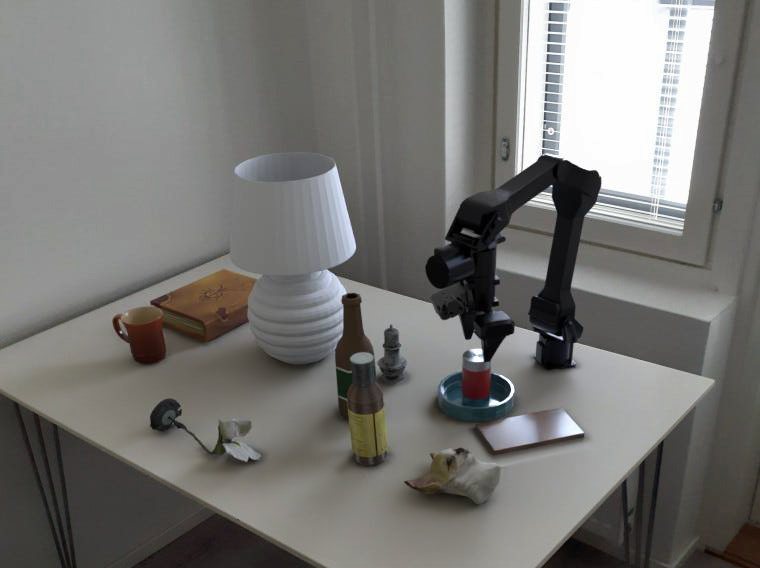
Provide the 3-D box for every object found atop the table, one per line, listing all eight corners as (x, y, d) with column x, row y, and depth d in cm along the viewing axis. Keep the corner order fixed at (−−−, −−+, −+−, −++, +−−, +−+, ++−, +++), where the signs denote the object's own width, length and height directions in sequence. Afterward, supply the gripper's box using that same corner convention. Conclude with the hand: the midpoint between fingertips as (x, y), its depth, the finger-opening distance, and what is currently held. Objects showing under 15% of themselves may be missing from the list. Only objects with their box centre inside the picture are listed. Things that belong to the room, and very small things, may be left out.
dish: (495, 378, 171) (496, 364, 170) (525, 415, 160) (526, 400, 158) (427, 391, 169) (427, 377, 167) (453, 429, 157) (453, 414, 155)
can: (483, 392, 167) (484, 346, 161) (493, 406, 162) (495, 359, 157) (457, 397, 166) (458, 351, 160) (467, 411, 161) (468, 364, 156)
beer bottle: (383, 403, 166) (379, 288, 153) (371, 425, 159) (365, 307, 147) (345, 398, 168) (338, 284, 155) (331, 419, 162) (322, 302, 149)
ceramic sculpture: (485, 476, 130) (399, 454, 137) (486, 522, 134) (402, 498, 141) (513, 441, 137) (430, 422, 145) (514, 486, 141) (433, 465, 149)
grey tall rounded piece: (405, 386, 171) (403, 331, 164) (375, 384, 172) (373, 330, 166) (409, 371, 176) (408, 318, 169) (381, 369, 177) (378, 317, 170)
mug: (178, 351, 188) (170, 308, 183) (156, 370, 181) (147, 326, 176) (132, 344, 192) (123, 302, 187) (109, 362, 185) (99, 319, 180)
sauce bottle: (379, 443, 154) (375, 344, 144) (393, 461, 149) (389, 360, 139) (345, 452, 152) (338, 352, 142) (358, 471, 147) (352, 369, 137)
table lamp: (385, 345, 186) (378, 159, 165) (305, 395, 170) (286, 196, 149) (300, 316, 200) (283, 141, 179) (218, 359, 184) (190, 173, 163)
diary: (208, 345, 190) (204, 321, 187) (154, 323, 201) (149, 301, 197) (280, 307, 205) (278, 285, 202) (226, 289, 215) (223, 268, 212)
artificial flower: (183, 422, 166) (191, 375, 162) (263, 477, 154) (273, 427, 150) (145, 431, 159) (152, 383, 155) (225, 489, 147) (235, 438, 143)
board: (560, 412, 160) (561, 407, 159) (584, 438, 152) (584, 432, 152) (474, 429, 157) (475, 423, 156) (494, 456, 149) (494, 450, 148)
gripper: (418, 258, 156) (419, 335, 164) (454, 299, 141) (453, 382, 149) (475, 249, 158) (474, 326, 167) (518, 289, 143) (513, 371, 151)
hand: (477, 350), depth 158 cm, fingers open, 9 cm apart
